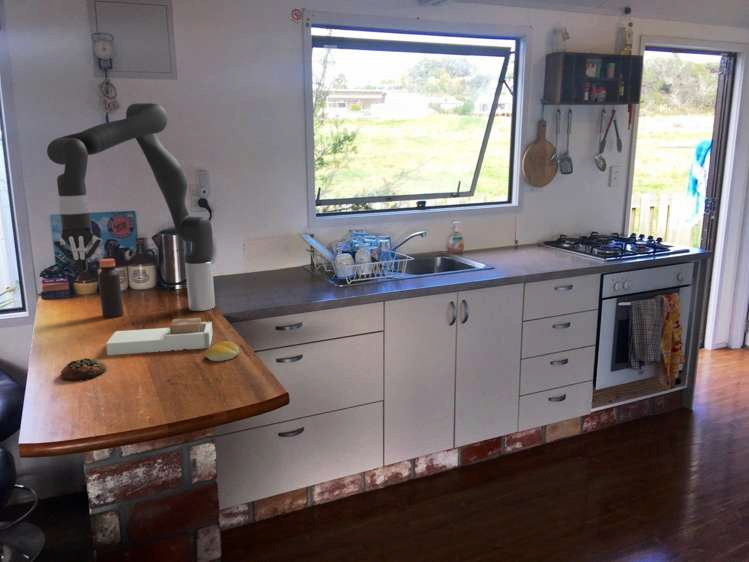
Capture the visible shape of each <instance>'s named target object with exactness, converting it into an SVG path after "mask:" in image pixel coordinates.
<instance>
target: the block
mask: <svg viewBox="0 0 749 562" xmlns="http://www.w3.org/2000/svg"><path fill="white" fill-rule="evenodd" d="M201 322H202V318H201V317H195V318H194V317H193V318H175V319H174V318H173V319H172V321H171V323H170V325H169V328H170V330H171V334H186V333H200V332H202V329H201Z"/></svg>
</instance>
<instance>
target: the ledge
mask: <svg viewBox="0 0 749 562" xmlns="http://www.w3.org/2000/svg"><path fill="white" fill-rule="evenodd" d="M165 335H171V331H170V327H161V328H147V329H145V328H144V329H132V330H117V331H115V332H114V333H113V334H112V335H111V337H110V338H109V339H108V340H107V342H106V343H105V345H106V354H107V356H116V355H117V356H118V355H130V354H131V355H133V354H144V353H146V352H147V353H157V352H159V351H160V352H167V351H166V344H165ZM147 353H146V354H147Z"/></svg>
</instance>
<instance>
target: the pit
mask: <svg viewBox="0 0 749 562" xmlns="http://www.w3.org/2000/svg"><path fill="white" fill-rule="evenodd" d="M212 324H213V322H212V321H204V322H202V321H201V329H202V332H200V333H186V334H171V335H165V344H166V351H165V352H170V351H171V350H174V351H184V350H183V349H187V350H196V349H197V350H199V349H200V350H201V349H209V348H210V347H211V343H212V340H213V337H212V336H213V335H214V334H213V325H212ZM170 331H171V330H170ZM171 352H172V351H171Z"/></svg>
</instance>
